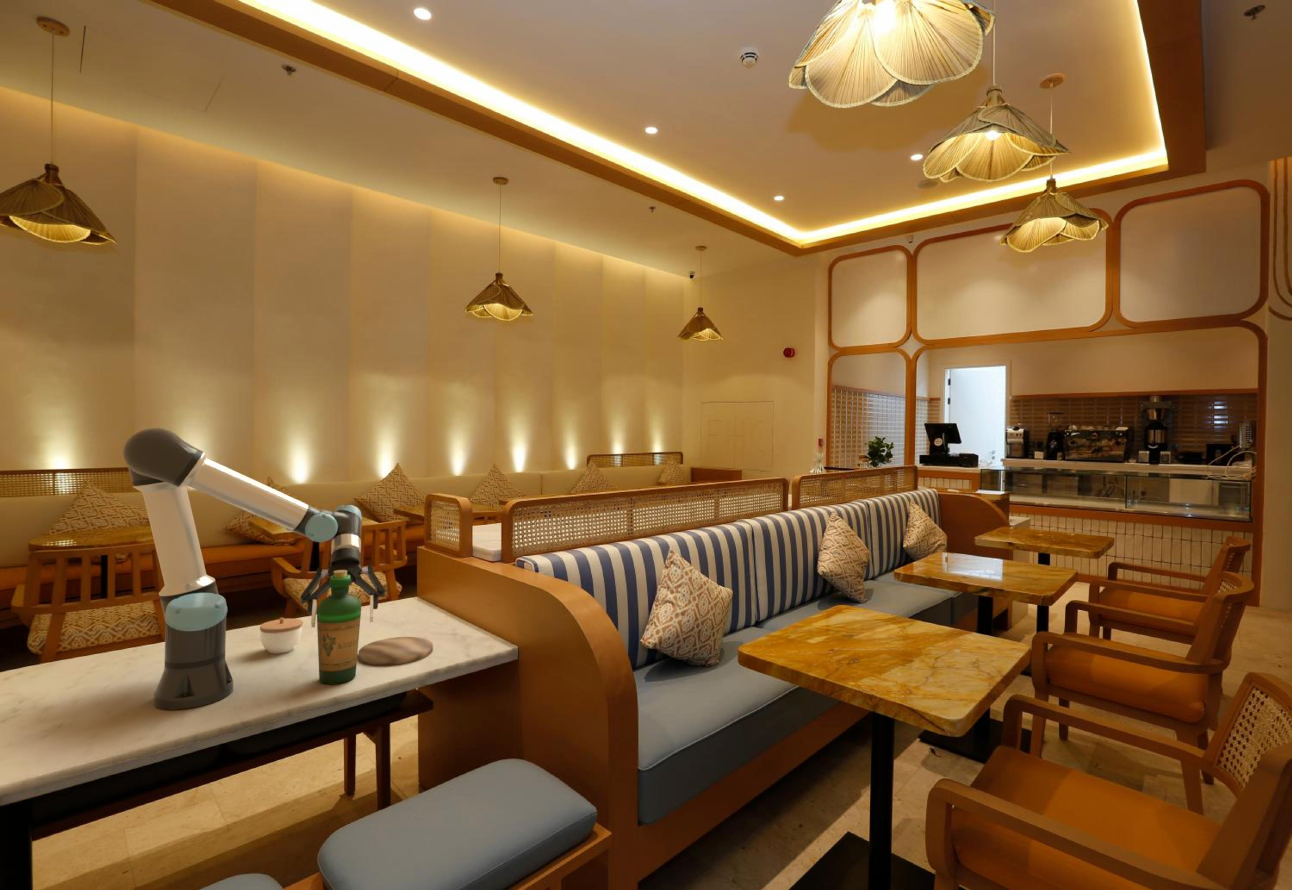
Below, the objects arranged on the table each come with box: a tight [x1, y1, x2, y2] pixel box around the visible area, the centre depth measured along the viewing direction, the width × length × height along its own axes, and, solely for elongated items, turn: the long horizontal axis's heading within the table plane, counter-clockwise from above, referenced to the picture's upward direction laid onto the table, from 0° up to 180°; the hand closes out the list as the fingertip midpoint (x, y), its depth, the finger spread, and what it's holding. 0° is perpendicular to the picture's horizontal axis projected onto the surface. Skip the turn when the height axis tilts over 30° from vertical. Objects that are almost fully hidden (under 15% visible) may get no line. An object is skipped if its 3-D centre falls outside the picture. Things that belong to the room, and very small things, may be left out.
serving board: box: [358, 636, 434, 667], centre depth 176 cm, size 20×20×2 cm
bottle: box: [316, 570, 363, 685], centre depth 156 cm, size 11×11×28 cm
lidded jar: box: [259, 617, 304, 654], centre depth 176 cm, size 11×11×9 cm
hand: (342, 622), depth 156 cm, fingers open, 13 cm apart
